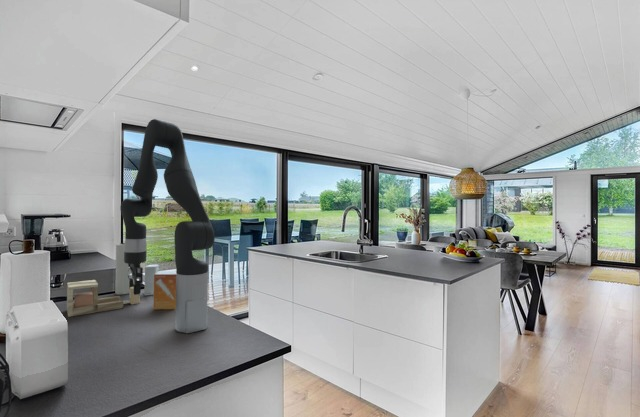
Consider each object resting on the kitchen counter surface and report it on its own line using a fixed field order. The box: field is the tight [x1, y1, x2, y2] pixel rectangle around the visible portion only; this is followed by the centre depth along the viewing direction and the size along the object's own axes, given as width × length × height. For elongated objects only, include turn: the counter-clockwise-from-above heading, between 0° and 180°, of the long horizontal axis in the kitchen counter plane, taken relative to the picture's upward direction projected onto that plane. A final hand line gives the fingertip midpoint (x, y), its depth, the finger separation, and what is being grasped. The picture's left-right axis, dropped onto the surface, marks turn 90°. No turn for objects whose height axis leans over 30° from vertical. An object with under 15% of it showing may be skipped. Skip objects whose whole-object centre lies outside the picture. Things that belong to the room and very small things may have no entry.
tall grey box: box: [114, 242, 130, 295], centre depth 138 cm, size 7×6×21 cm
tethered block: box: [73, 287, 141, 308], centre depth 120 cm, size 5×20×6 cm, turn 130°
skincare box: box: [143, 264, 160, 296], centre depth 139 cm, size 6×4×12 cm
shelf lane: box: [66, 279, 124, 318], centre depth 117 cm, size 9×16×10 cm, turn 130°
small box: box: [152, 270, 176, 310], centre depth 121 cm, size 8×6×13 cm
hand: (134, 291), depth 125 cm, fingers open, 8 cm apart
